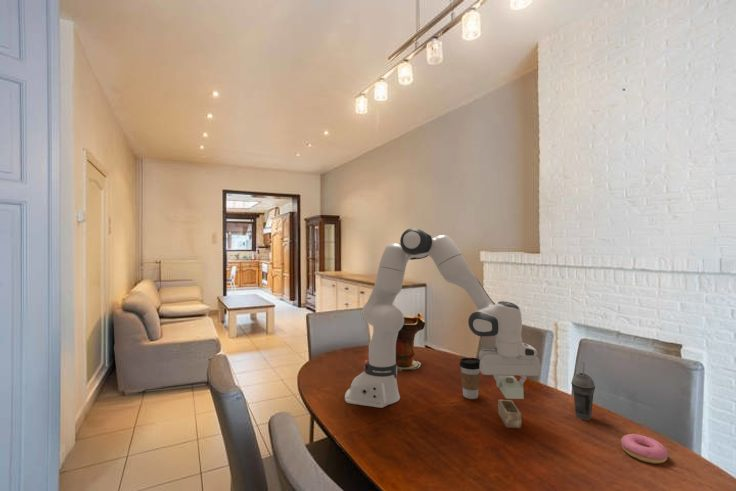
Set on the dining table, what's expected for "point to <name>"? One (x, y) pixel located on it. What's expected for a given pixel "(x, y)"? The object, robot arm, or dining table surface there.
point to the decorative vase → (408, 342)
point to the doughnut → (644, 448)
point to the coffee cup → (470, 377)
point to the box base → (509, 413)
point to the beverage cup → (583, 395)
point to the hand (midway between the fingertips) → (509, 386)
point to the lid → (511, 387)
